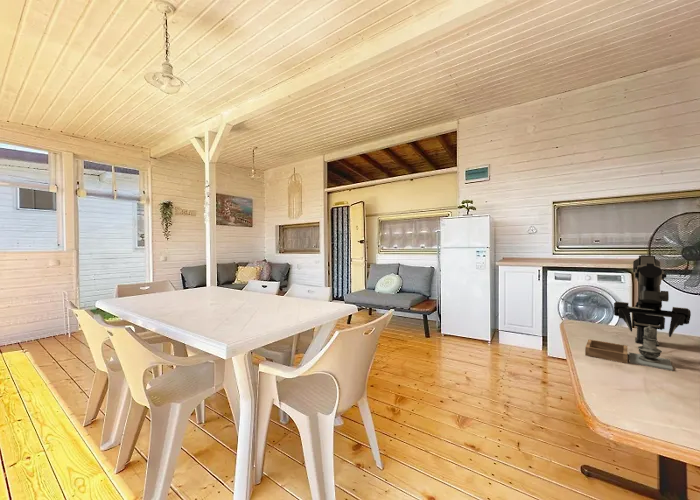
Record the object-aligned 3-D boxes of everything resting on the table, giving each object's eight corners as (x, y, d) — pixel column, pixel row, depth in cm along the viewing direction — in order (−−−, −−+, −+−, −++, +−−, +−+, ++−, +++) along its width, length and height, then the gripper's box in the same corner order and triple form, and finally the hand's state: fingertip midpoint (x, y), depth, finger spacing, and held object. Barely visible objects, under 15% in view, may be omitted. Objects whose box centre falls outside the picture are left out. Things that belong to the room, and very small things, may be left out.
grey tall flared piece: (666, 362, 100) (667, 326, 100) (652, 364, 99) (652, 327, 99) (646, 355, 106) (647, 321, 105) (632, 357, 105) (633, 322, 104)
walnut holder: (588, 347, 117) (588, 339, 117) (627, 354, 109) (627, 345, 109) (585, 355, 109) (585, 347, 108) (627, 363, 101) (627, 354, 101)
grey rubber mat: (629, 353, 109) (629, 352, 109) (669, 361, 103) (669, 359, 103) (629, 362, 102) (629, 360, 102) (672, 371, 95) (672, 369, 95)
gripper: (614, 279, 112) (612, 315, 104) (690, 283, 99) (695, 325, 92) (614, 297, 118) (613, 332, 110) (686, 303, 105) (690, 344, 98)
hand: (650, 333), depth 102 cm, fingers open, 9 cm apart
